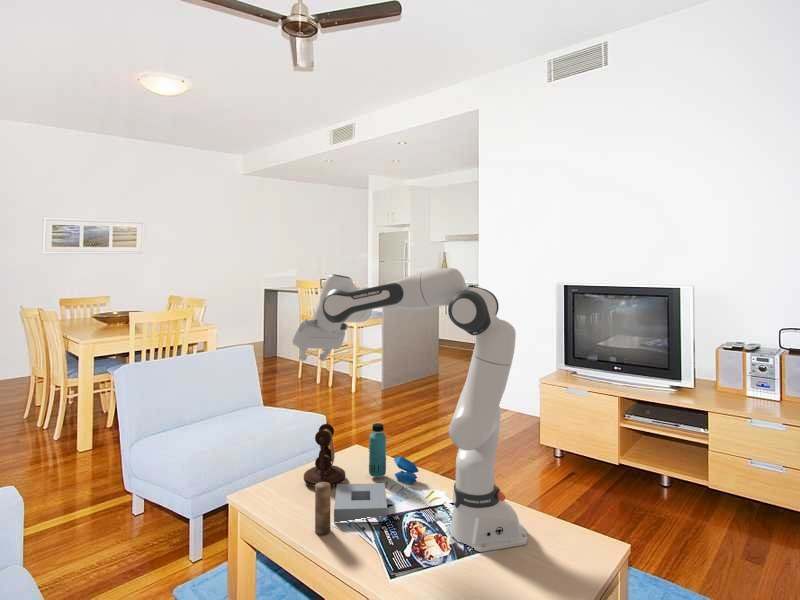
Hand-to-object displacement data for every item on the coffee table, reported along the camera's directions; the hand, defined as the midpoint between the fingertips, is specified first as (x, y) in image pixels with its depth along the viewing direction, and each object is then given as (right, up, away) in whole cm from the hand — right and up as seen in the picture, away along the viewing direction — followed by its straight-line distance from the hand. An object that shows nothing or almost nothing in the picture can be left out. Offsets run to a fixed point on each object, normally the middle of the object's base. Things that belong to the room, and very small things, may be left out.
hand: (312, 359), depth 157 cm
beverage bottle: (+21, -45, +17) cm, 53 cm away
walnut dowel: (+6, -48, -18) cm, 52 cm away
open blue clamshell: (+31, -46, +15) cm, 57 cm away
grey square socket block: (+16, -47, -6) cm, 50 cm away
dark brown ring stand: (+2, -45, +13) cm, 47 cm away
